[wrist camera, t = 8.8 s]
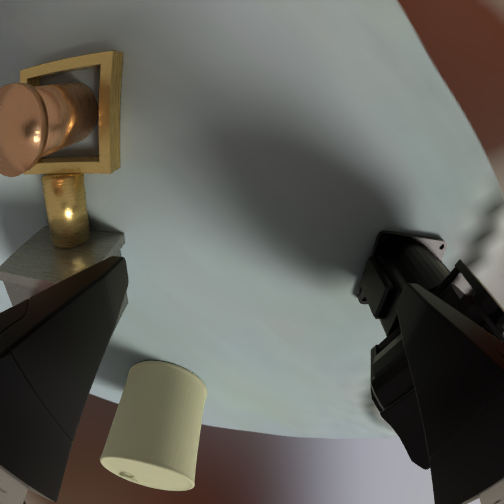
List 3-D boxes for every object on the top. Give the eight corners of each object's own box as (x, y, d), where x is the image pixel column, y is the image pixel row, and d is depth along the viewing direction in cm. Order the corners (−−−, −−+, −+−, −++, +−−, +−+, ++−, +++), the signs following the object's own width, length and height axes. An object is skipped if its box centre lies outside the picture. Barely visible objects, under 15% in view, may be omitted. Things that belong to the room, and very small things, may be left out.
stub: (104, 74, 16) (41, 75, 10) (102, 146, 19) (44, 175, 12) (46, 83, 16) (-20, 93, 10) (47, 149, 18) (-14, 178, 12)
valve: (119, 168, 19) (42, 223, 11) (133, 303, 25) (95, 386, 17) (35, 168, 19) (-45, 216, 11) (60, 290, 25) (12, 358, 17)
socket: (123, 52, 15) (112, 50, 14) (120, 167, 19) (110, 173, 18) (33, 69, 15) (20, 70, 14) (35, 168, 19) (23, 174, 18)
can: (113, 373, 31) (81, 461, 20) (164, 349, 28) (134, 458, 18) (169, 413, 34) (153, 495, 24) (224, 395, 32) (215, 493, 21)
